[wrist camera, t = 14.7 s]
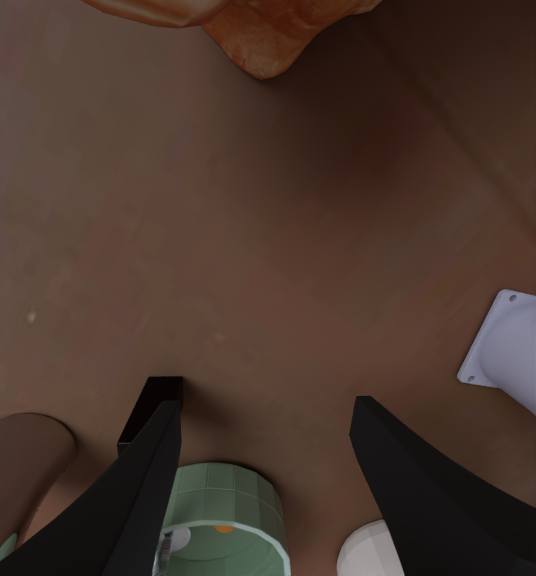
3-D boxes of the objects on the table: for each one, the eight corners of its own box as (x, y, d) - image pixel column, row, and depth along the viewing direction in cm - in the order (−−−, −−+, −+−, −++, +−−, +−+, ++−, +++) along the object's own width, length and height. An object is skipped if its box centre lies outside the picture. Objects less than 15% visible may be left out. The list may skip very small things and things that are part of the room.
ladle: (192, 536, 26) (180, 638, 20) (150, 539, 26) (124, 644, 20) (191, 375, 22) (174, 444, 16) (139, 376, 21) (102, 446, 15)
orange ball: (222, 495, 26) (247, 499, 26) (216, 529, 25) (242, 535, 24) (209, 493, 25) (236, 497, 24) (202, 530, 23) (229, 536, 22)
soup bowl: (296, 463, 26) (310, 525, 21) (262, 562, 30) (267, 633, 25) (139, 449, 24) (115, 515, 19) (124, 558, 27) (101, 635, 23)
